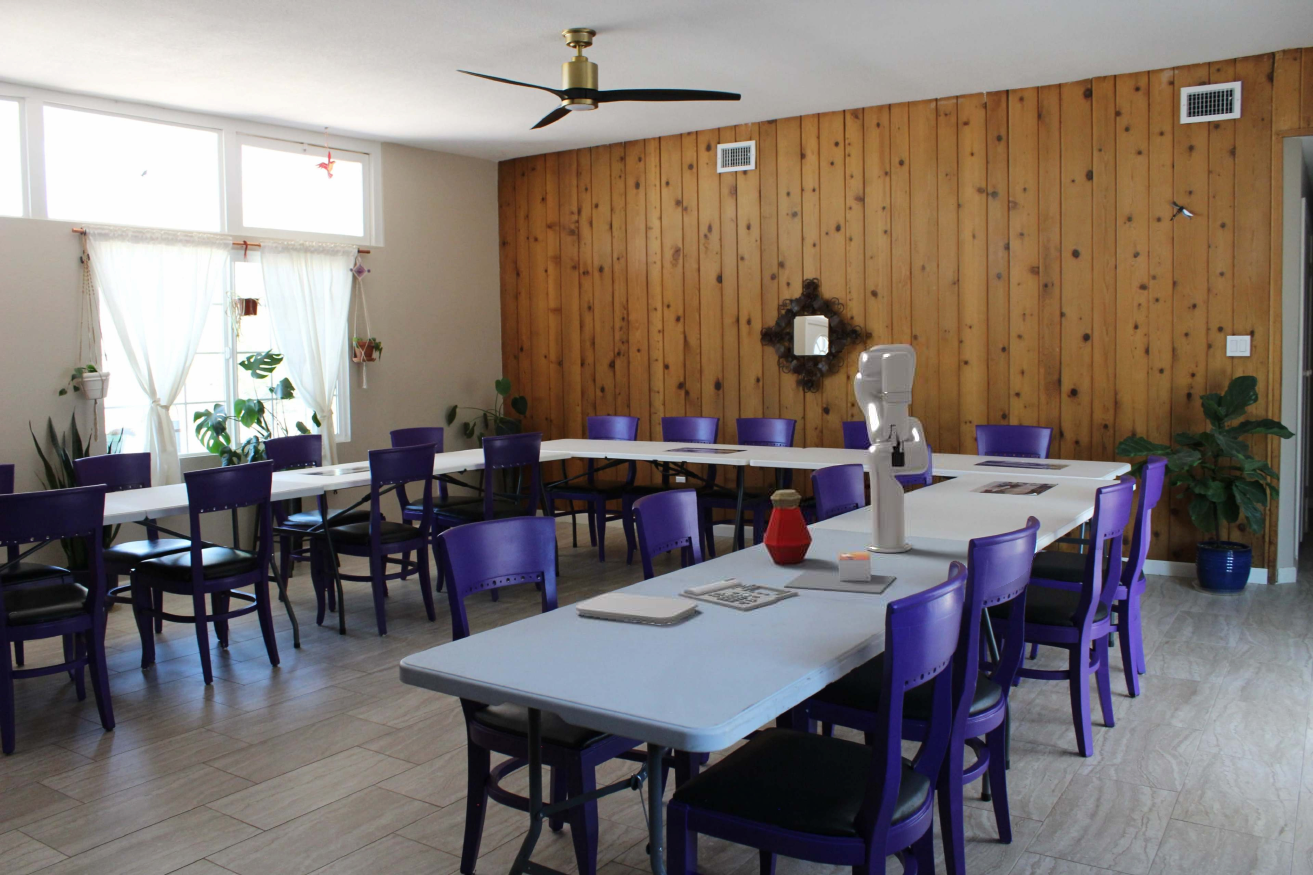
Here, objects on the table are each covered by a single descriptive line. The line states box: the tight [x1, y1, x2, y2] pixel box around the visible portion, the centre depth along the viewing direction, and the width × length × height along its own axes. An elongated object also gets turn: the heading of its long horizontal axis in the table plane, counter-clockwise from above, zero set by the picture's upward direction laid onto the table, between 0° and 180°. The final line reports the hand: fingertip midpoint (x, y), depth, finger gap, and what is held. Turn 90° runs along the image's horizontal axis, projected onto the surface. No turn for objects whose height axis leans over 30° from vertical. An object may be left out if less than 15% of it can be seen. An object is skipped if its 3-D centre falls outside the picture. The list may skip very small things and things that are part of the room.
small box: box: [838, 551, 872, 581], centre depth 253 cm, size 8×6×10 cm
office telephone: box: [677, 577, 799, 612], centre depth 239 cm, size 23×3×20 cm
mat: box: [783, 570, 897, 595], centre depth 249 cm, size 18×24×1 cm
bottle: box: [762, 489, 813, 565], centre depth 277 cm, size 16×14×20 cm
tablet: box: [575, 592, 699, 625], centre depth 227 cm, size 16×26×2 cm, turn 59°
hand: (898, 466), depth 264 cm, fingers closed
